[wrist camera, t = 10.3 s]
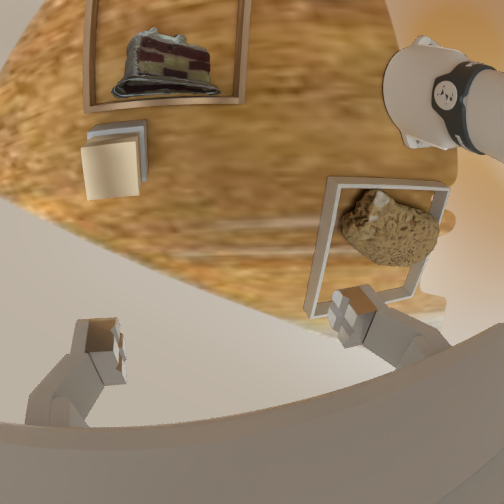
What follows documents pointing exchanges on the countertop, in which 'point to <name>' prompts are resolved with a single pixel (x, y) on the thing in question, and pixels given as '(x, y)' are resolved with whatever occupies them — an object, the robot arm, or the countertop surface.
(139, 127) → the slate block
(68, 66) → the countertop surface
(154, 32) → the chocolate cake
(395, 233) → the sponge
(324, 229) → the grey square frame
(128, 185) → the maple block
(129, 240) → the countertop surface
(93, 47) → the oak cake frame
